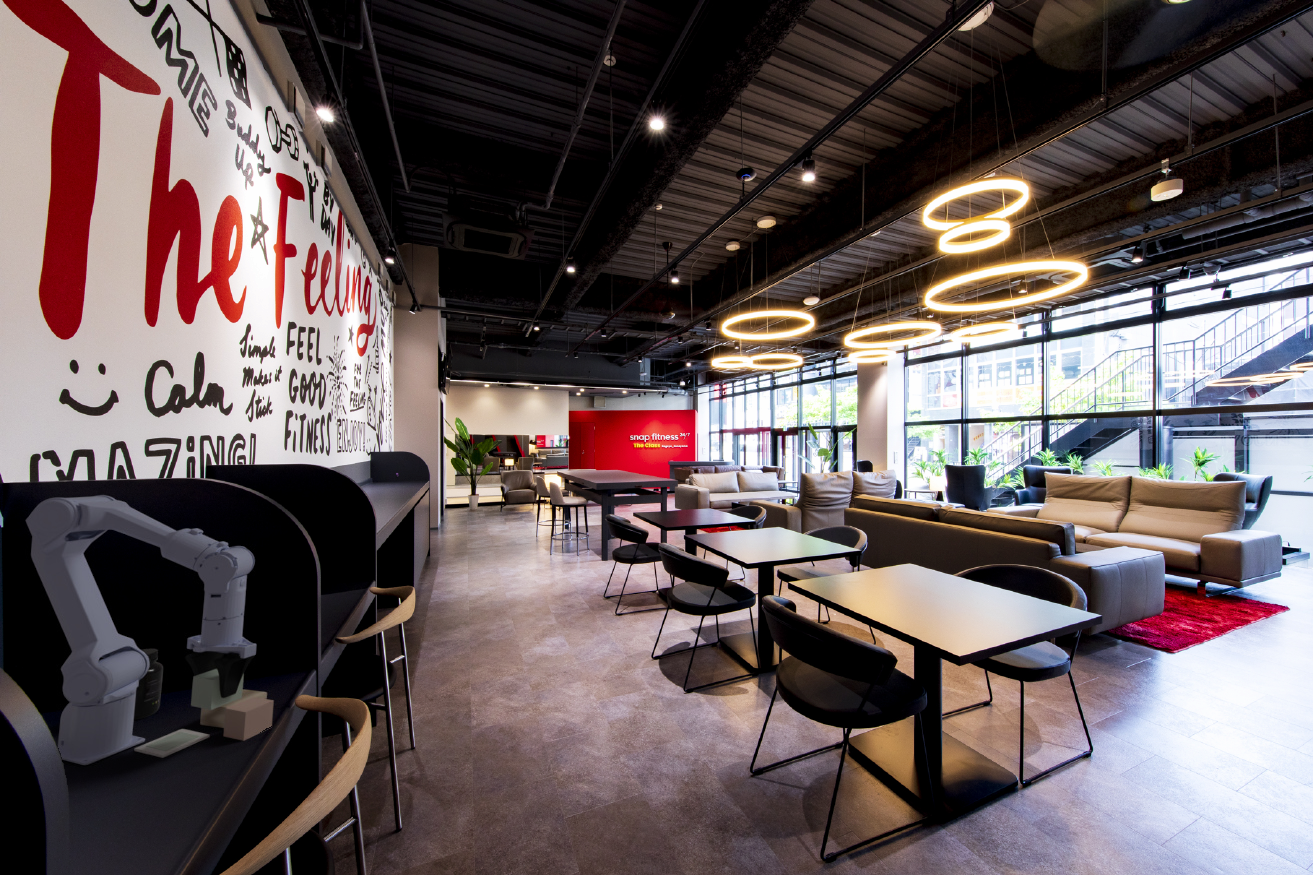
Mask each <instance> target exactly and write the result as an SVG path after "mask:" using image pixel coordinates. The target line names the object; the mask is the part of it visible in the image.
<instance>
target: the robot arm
mask: <svg viewBox="0 0 1313 875" xmlns="http://www.w3.org/2000/svg"><path fill="white" fill-rule="evenodd" d="M25 522H26V525H27V527H28V529H29V532H30V534H31V536H32V538H31V552H30V556H31V560H32V562H33V564H34V567H35V568H36V571H37V574H38V576H39V578H40V581H41V582H42V586H43V587H44V589H45V592H46V595H47V596H48V599H49V601H50V604H51V606H52V609H53V610H54V613H55V615H56V617H57V619H58V622H59V624H60V627H61V629H62V631H63V633H64V635H65V637H66V641H67V643H68V645H69V648H70V650H71V653H70V655H69V656H68V657H67V659H66V660H65V661H64V663H63V665H61V668H60V670H61V674H62V677H63V683H62V692H63V696H64V698H66V700H67V701H68V702H69V703H68V704H67V705H66V706H65V707H64V709H63V711H62V713H61V715H60V722H59V732H58V741H57V749H58V748H59V751H60V753H61V757H62V759H61V760H63V761H67V762H70V763H74V764H76V765H77V764H78V765H82V766H87V765H90V764H93V763H96V762H97V761H100V760H102V759H105V758H107V757H111V756H112V755H115V754H117V753H120V752H122V751H125V750H127V749H129V748H132V747H134V746H137V745H140V744H142V743H145V741H146V738H144V737H140V736H137V735H133V728H134V721H133V720H134V708H135V697H136V688H137V687H138V685H139V680H140V679H141V678H142V677H143V676H144V675H145V674H146V673H147V671H148V669H149V658H148V656H147V655H146V654H145V653H144V652H143V651H142V650H143V649H140V648H139V647H138V646H137V643H136V642H135V640H134V639H133V638H132V637H127V636H125V635H122V634H120V633H118V630H117V628H116V626H115V624H114V622H113V620H112V617H111V614H110V612H109V610H108V608H107V605H106V603H105V601H104V598H103V596H102V594H101V591H100V589H99V586H98V585H97V582H96V580H95V577H94V576H93V575H94V574H93V573H92V571H91V568H90V566H89V564H88V562H87V559H86V557H85V554H84V553H85V551H87V549H88V548H89V546H90V545H91V544H92V543H93V542H95V541H96V540H97V539H98V538H100V537H101V536H102V535H103V534H104V533H106V532H107V531H108V530H109V531H110V530H113V531H116V532H118V533H121V534H125V535H127V536H129V537H132V538H134V539H137V540H139V541H142V542H145V543H147V544H150V545H153V546H156V547H158V548H160V554H161V556H162V558H165V559H167V560H169V561H172V562H174V563H176V564H178V565H181V566H183V567H185V568H188V569H190V570H193V571H194V572H197V574H198V576H199V578H200V580H201V581H202V582H203V584H204V585H203V586H204V588H203V591H204V597H203V598H204V600H203V610H202V612H203V613H202V620H201V621H202V622H201V634H198V635H194V636H190V637H188V638H187V643H186V649H188V650H192V651H193V652H192V653H188V654H186V655H185V661H186V662H187V663H188V664H189V666H190V668H191V669H192V672H193V675H194V676H196V675H199V674H202V673H205V672H208V671H212V670H215V669H217V670H218V674H219V680H220V695H221V698H226V697H228V696H231V695H234V694H236V692H237V689H238V686H239V684H240V681H241V678H242V676H243V674H244V673H245V671H246V669H247V668H248V666H249V664H251V661H252V660H253V659H254V657H255V655H256V654H257V643H253V642H251V641H249V640H248V639H246V638H245V637H244V636H243V633H244V632H243V630H244V618H245V617H244V616H245V606H246V595H247V594H246V591H247V579H248V574H250V572H251V571H252V570H253V569H254V566H255V562H256V559H255V556H254V554H253V553H252V552H251V551H250V549H248V548H247V547H245V546H241V545H235V546H230V547H229V543H228V542H226V541H218V540H215V539H214V538H212V537H209V536H208V535H205V534H203V533H204V531H203V530H202V529H201V528H182V529H179V530H176V529H174V528H172V527H170V526H168V525H166V524H164V523H162V522H160V521H158V520H156V519H154V518H153V517H150V516H149V515H147V514H144V513H142V512H141V511H138V510H136V509H135V508H133V507H131V506H130V505H129V504H128V503H127V502H125V501H122V500H119V499H118V500H117V499H115V497H112V496H109V495H105V494H100V495H98V494H97V495H94V496H80V497H79V496H78V497H51V498H48V499H47V498H46V499H45V500H43V501H41V502H40V503H38V504H37V506H36V507H35V508H34V509H33V510H32V511H31V513H30V514H29V516H28V517H27V518H26V519H25ZM225 654H226V655H225ZM224 655H225V656H224ZM100 658H102V659H100ZM244 675H245V674H244Z"/></svg>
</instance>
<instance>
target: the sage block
mask: <svg viewBox="0 0 1313 875" xmlns="http://www.w3.org/2000/svg"><path fill="white" fill-rule="evenodd" d="M244 676H245V674H243V676H242V678H241V681H240V684H239V686H238V689H237V692H236V694H234V695H231V696H228V697H226V698H221V695H220V680H219V674H218V670H217V669H215V670H212V671H208V672H205V673H202V674H199V675H196V676H195V675H194V676H192V677H193V679H192V688H191V700H190V702H191V703H190V706H191V707H196V708H198V709H199V708H200V709H201V708H204V709H209V710H212V709H215V708H217V707H220V706H223V705H225V704H228V703H230V702H233V701H235V700H238V699H240V698H242V690H243V688H244Z"/></svg>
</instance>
